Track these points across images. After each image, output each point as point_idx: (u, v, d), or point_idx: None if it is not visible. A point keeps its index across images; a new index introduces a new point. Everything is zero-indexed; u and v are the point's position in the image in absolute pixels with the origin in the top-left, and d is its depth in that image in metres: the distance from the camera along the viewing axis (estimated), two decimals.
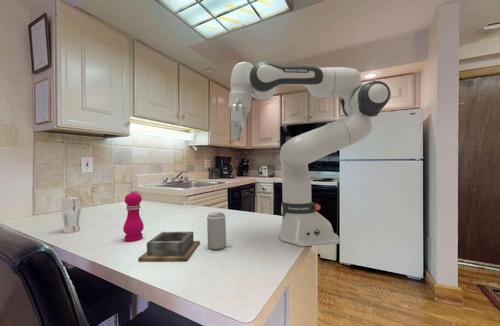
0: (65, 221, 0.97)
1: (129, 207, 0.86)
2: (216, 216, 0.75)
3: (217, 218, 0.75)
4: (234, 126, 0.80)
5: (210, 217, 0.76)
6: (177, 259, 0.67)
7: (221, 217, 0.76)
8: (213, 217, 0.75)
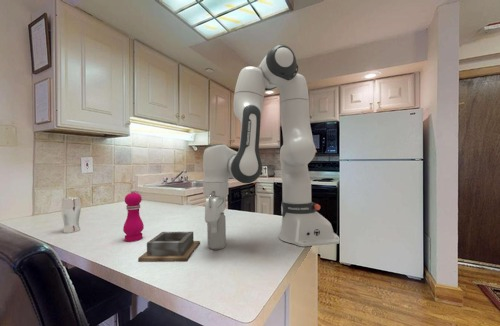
0: (65, 221, 0.97)
1: (129, 207, 0.86)
2: None
3: None
4: None
5: None
6: (177, 259, 0.67)
7: (221, 217, 0.76)
8: None
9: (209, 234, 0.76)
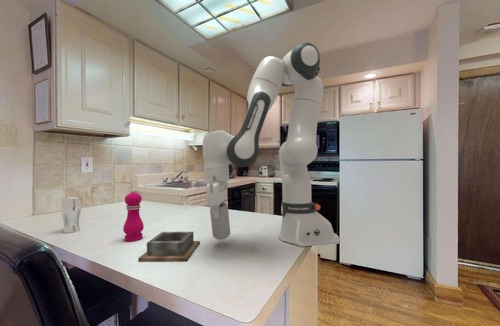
0: (65, 221, 0.97)
1: (129, 207, 0.86)
2: None
3: (219, 210, 0.75)
4: None
5: (212, 209, 0.76)
6: (177, 259, 0.67)
7: (223, 209, 0.76)
8: None
9: (213, 225, 0.77)
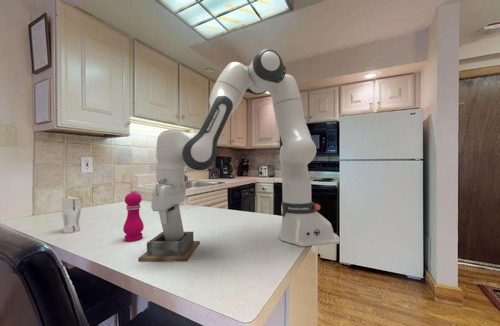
0: (65, 221, 0.97)
1: (129, 207, 0.86)
2: (167, 214, 0.70)
3: (168, 216, 0.70)
4: (160, 211, 0.67)
5: None
6: (177, 259, 0.67)
7: (172, 214, 0.70)
8: None
9: (163, 229, 0.72)
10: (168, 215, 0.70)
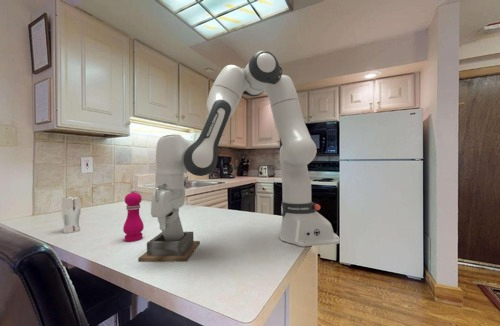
0: (65, 221, 0.97)
1: (129, 207, 0.86)
2: None
3: (167, 222, 0.68)
4: (159, 217, 0.66)
5: None
6: (177, 259, 0.67)
7: (171, 220, 0.69)
8: None
9: (163, 233, 0.72)
10: (167, 221, 0.68)
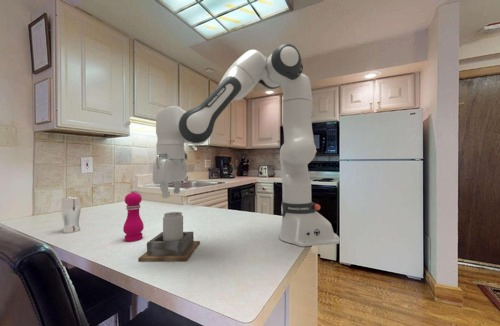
0: (65, 221, 0.97)
1: (129, 207, 0.86)
2: (170, 216, 0.71)
3: (171, 218, 0.71)
4: (161, 185, 0.68)
5: (164, 217, 0.72)
6: (177, 259, 0.67)
7: (176, 218, 0.71)
8: (167, 217, 0.71)
9: (163, 235, 0.72)
10: (171, 218, 0.71)
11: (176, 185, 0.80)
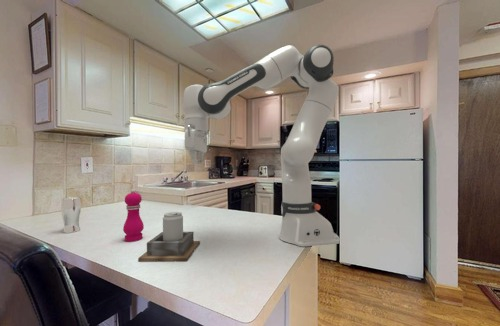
0: (65, 221, 0.97)
1: (129, 207, 0.86)
2: (170, 216, 0.71)
3: (171, 219, 0.71)
4: (190, 151, 0.79)
5: (164, 217, 0.72)
6: (177, 259, 0.67)
7: (175, 218, 0.71)
8: (167, 217, 0.71)
9: (163, 235, 0.72)
10: (171, 218, 0.71)
11: (199, 156, 0.91)
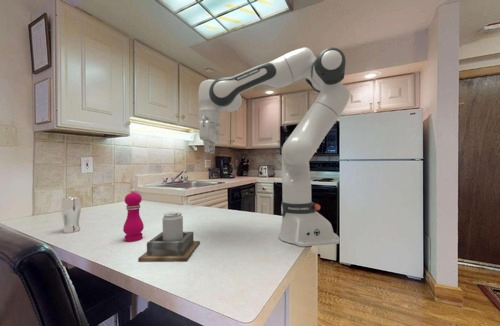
0: (65, 221, 0.97)
1: (129, 207, 0.86)
2: (169, 217, 0.71)
3: (170, 219, 0.71)
4: (204, 141, 0.86)
5: (164, 217, 0.72)
6: (177, 259, 0.67)
7: (175, 218, 0.71)
8: (166, 218, 0.71)
9: (163, 235, 0.72)
10: (171, 218, 0.71)
11: (211, 147, 0.98)
